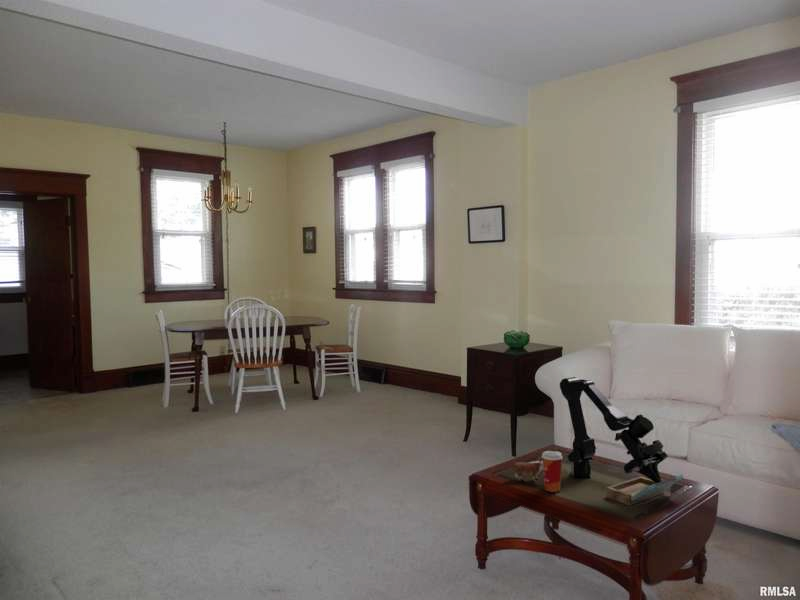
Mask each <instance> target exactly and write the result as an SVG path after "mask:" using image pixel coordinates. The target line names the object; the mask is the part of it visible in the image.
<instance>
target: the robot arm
mask: <svg viewBox="0 0 800 600" xmlns="http://www.w3.org/2000/svg"><path fill="white" fill-rule="evenodd" d="M559 389H560V391H561V395H562V397H564V398H565V400H566V401H567V406H568V411H569V415H570V419H571V424H572V429H573V434H574V438H573V442H572V451H570V452H569V454H568V455H567V460H568V462H571V471H570V472H569V473H570V475H571V476H572V477H573V478H574V479H591V471H592V470H591V464H590V461H592V460H593V458H594V456H595V454H596V450H597V447H596V444H595V441H596V440H595V439H594V438H591V437H590V435H588V432H587V431H588V430H587V427H586V421H585V417H584V412H583V408H582V402H581V396H582V393H584V394H585V395H586V396H587V397H588V398H589V400H590V401H591V402H592V403H593V405H594V406H595V407H596V408H597V409H598V410H599V411H600V412H601V414H602V416H603V421H604V423H605V424H606V426H607V428H609V430H610V431H612V432H616V433H615V437H614V441H615V442H617V441H618V442H619V441H621V443H622V444H623V445H624V448H625V449H626V450H627V451H626V454H627V455H628V456H629V455H630V456H631V457H632V458H633V459H630V460H629V461H628V462H627V463H625V464H624V465H623V471H624V473H625V474H626V475H628V474H631V473H633V470H634V469H636V468H638V470H637V471H636V472H637V474H640V475H642V476H643V477H644V476H645V478H648V479H651V480H652V481H654V482H655V483H659V482H662V480H661V479H662V478H661V476H660V472H659V469H658V468H659V467H658V466H659V464H660V463H662V462H663V461H664V460H666V459H667V458H668V454H667V453H666V452H665V451H663V448H664V444H663V443H662V442H661V441H660V440H659V439H657V440H653V441H652V443H651V444H647V443H646V442H645V441H644V442H642V441H641V440H640V439H643V438H644V437H646V436H647V435H648V434H649V433H651V432H653V430H654V424H653V422H652V421H651V420H650V419H649V418H647V417H645V416H643V414H642V413H641V414H637V415H636V416H635V417H634V418H630V417H628V415H627V414H626V413H624V411H622V410H620V409H618V408H616V407H615V406H614V405H613V404H612V403H611V402H610V401H609V399H608V398H607V397H606V396H605V395H604V394H603V392H602V391H600V389H599V388H598V387H597V385H596V384H595V382H594V380H591V379H579V378H578V377H576V376H572V377H567V378H562V379H561V380H560V382H559ZM621 430H622V431H621ZM618 431H621V432H618Z"/></svg>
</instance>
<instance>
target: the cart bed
mask: <svg viewBox="0 0 800 600" xmlns="http://www.w3.org/2000/svg"><path fill="white" fill-rule="evenodd" d="M653 484H656V483H655V482H654V481H652V480H651V479H649V478H648V477H644V476H641V475H640V476H638V477H635V478H632V479H628V480H626V481H622V482H619V483H615V484H612V485H609V486H607V487H606V488H605V489H606V496H605V497H606V498H609V499H611V500H614V501H616V502H620V503H623V504H625V505H628V506H631V505H634V504H637V503H640V502H642V501H646V500H648V499H651V498H654V497H656V496H659V495H663V494H665V489H664V490H662V491H659V492H656V493H653V494H650V495H647V496H645V497H642V498H639V499H636V500H633V501H632V500H631V497H633V496H634V495H636V494H637V493H639V492H640V491H641V490H643V489H644V488H646V487H647V486H650V485H653Z"/></svg>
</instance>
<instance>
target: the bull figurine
mask: <svg viewBox="0 0 800 600" xmlns="http://www.w3.org/2000/svg"><path fill="white" fill-rule="evenodd" d="M512 470H513V472H514V477H515V476H516V477H517V478H519V479H520V478H522V479H523V476H522V473H523V474H524V475H525V476H527V475H528V474H531V475H532V479H535V477H537V478H538V475H539V474H540V473H541V472H542V471H543V460H541V461H539V460H535V461H529V462H523V461H522V462H521V461H518V462H516V461H515V462H513V463H512ZM517 478H516V479H517ZM535 480H536V479H535Z"/></svg>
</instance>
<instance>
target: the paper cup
mask: <svg viewBox="0 0 800 600" xmlns="http://www.w3.org/2000/svg"><path fill="white" fill-rule="evenodd" d="M541 458H542V461H543V470H542V472H543V473H542V474H543V485H544V490H545V489H548V490H552V491H558V490H560V491H561V480H562V460H563V455H562V453H561V452H560V451H554V450H545V451H543V452H542V454H541Z"/></svg>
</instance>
